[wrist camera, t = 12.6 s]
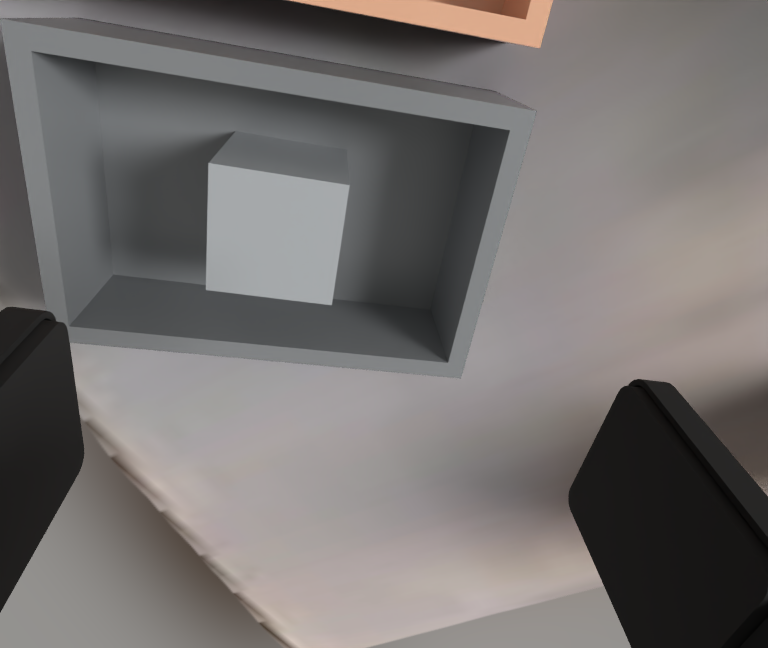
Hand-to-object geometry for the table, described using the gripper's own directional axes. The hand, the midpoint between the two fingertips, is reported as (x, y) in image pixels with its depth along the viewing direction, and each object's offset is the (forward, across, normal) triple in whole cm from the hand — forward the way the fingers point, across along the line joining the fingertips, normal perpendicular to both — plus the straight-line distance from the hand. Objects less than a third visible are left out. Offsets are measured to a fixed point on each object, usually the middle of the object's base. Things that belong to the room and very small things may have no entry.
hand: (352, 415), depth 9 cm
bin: (+19, +3, +2) cm, 19 cm away
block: (+18, +3, +2) cm, 19 cm away
